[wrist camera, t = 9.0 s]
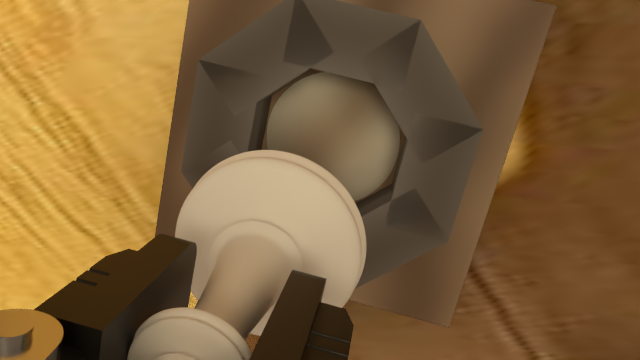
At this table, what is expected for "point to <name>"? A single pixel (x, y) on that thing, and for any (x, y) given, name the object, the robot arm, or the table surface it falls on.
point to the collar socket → (366, 119)
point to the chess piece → (255, 252)
